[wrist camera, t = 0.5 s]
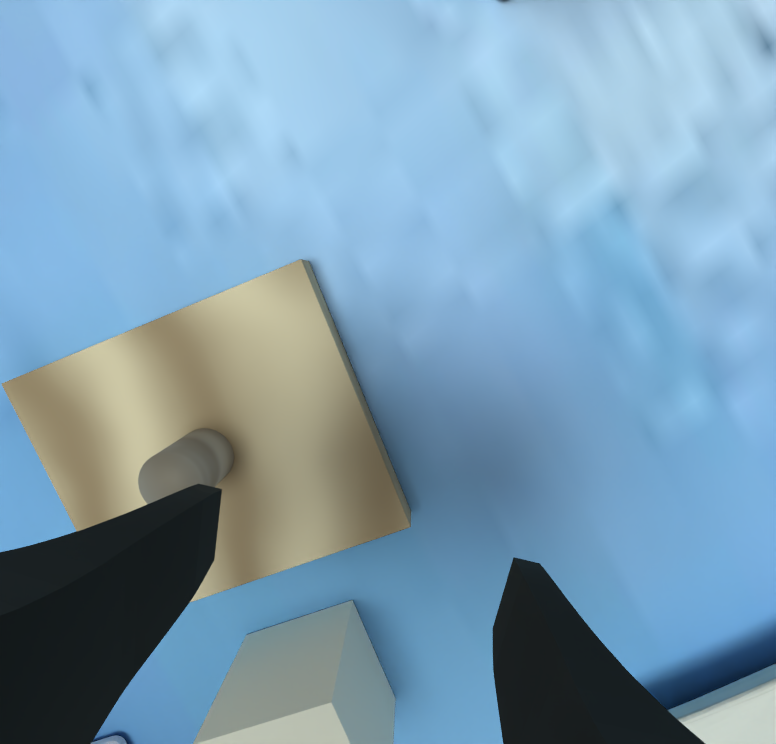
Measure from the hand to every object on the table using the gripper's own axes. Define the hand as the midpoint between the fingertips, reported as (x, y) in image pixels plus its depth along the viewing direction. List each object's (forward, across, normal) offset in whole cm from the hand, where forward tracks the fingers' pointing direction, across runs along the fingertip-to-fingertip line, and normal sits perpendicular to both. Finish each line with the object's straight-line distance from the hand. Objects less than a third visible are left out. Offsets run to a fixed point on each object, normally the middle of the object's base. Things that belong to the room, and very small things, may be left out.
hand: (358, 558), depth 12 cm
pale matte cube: (+9, +1, +13) cm, 16 cm away
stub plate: (+10, +8, +3) cm, 13 cm away
